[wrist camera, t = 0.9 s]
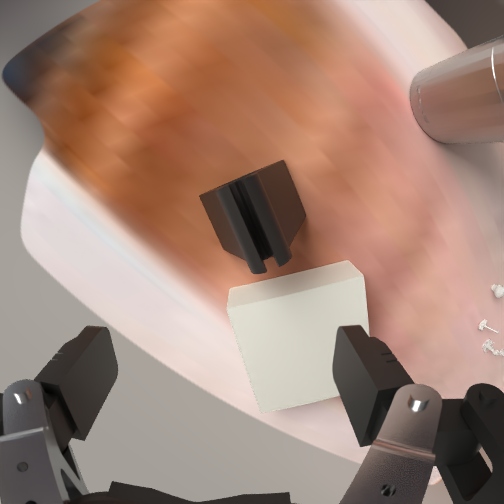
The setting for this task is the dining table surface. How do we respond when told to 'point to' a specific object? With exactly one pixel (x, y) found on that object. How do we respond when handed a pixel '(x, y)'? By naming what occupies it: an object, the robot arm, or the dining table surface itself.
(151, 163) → the dining table surface
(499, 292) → the game piece set
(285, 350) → the cream block
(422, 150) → the dining table surface
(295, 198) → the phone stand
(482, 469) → the robot arm
